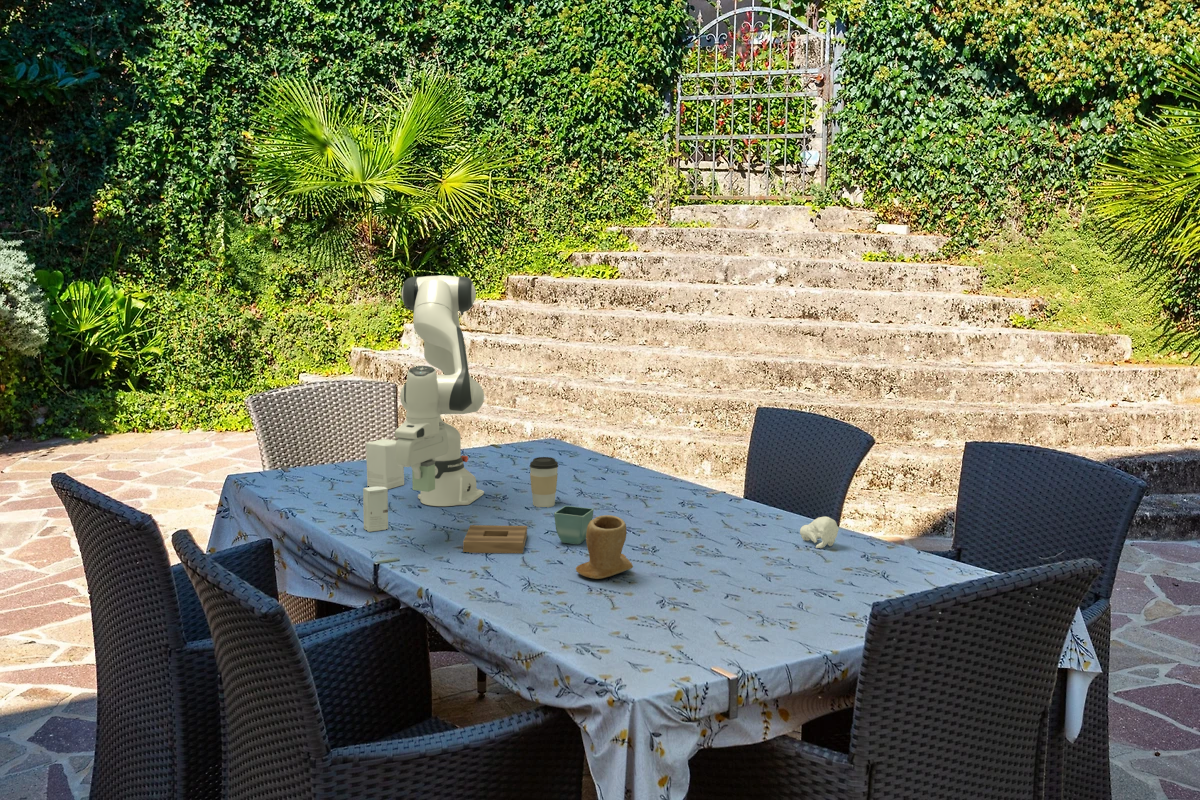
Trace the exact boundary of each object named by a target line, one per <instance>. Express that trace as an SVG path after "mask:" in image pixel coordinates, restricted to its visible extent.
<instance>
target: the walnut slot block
mask: <svg viewBox="0 0 1200 800" xmlns="http://www.w3.org/2000/svg"><path fill="white" fill-rule="evenodd" d="M527 537H528V526H527V525H493V524H492V525H489V524H488V525H487V524H486V525H485V524H484V525H479V524H477V525H476V524H475V525H473V524H470V525H469V527H468V529H467V532H466V534H465V537H464V538H463V540H462V541H463V542H462V553H463V552H469V553H468V554H471V553H472V554H475V553H476V554H523V553H524V550H525V546H526V541H527V539H528V538H527Z"/></svg>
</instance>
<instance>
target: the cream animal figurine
mask: <svg viewBox="0 0 1200 800" xmlns="http://www.w3.org/2000/svg"><path fill="white" fill-rule="evenodd" d="M839 530H840V529H839V526H838V524H837V521H836V520H835V519H833V518H831V517H829V516H821V517H820V516H819V517H817V518H815V519H813V520H812V522H811V521H810V523H809V524H803V525H802V526H801V527H800V529H799V534H800V537H801V538H802V540H803V541H807V542H808V541H810V540H811V542H813V543H814V544H815V543H817V542H818V539H821V542H819V543H817V544H816V546H815V548H816V549H817V548H820V549H824V548H825V547H826V546H828V547H832V546H833V545H834V543H835V541H836V539H837V537H838V533H839Z"/></svg>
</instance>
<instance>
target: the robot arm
mask: <svg viewBox="0 0 1200 800" xmlns="http://www.w3.org/2000/svg"><path fill="white" fill-rule="evenodd" d="M476 294H477V292H476V287H475V285H474V282H473V280H472V278H469V277H467V276H462V275H460V276H456V275H455V276H454V275H453V276H452V275H446V274H445V275H442V274H441V275H426V276H410V277H407V279H406V280H404V282H403V286H402V287H401V300H402V302H403V305H404V307H405V308H406V309H407V310H408V311H412V312H413V318H412V319H413V321H412V323H413V329H414V331H415V332H416V334H417V336H418V337H419V338H420V339H422V340H423V350H424V351H423V352H424V353H423V354H424V355H423V356H424V359H425V361H426V362H427V363H428V364H429V365H430V366H429V365H417V366H413V367H411V368H410V369H408V371H407V376H406V382H405V383H404V384H403V385H402V388H401V391H400V395H399V396H400V397H399V399H400V403H401V406H402V407H403V409H404V410H405V411H406V413H405V420H404V422H402V424H401V425H399V427H397V428H396V429H395V431H394V437H395V438H397V439H396V440H395V441H396V462H397V464H398V466H402V467H404V468H411V470H412V469H413V471H414V478H415V479H420V478H422V477H423V472H421V471H420V468H419V467H420V466H421V463H422V462H424V461H427V460H434V461H435V489H434V490H432V491H429V492H425V491H420V493H418V495H417V499H419V501H420V503H422V504H423V505H426V506H431V507H453V506H468V505H471V504H472V503H473V502H474V501H476V500H478V499H479V498H481V496H483V495H484V494H485V491H484V490H482V489H480V488H477V479H476V476H475V475H474V474H472V473H471V472H470V471H469V470H468V469H467V468H465V464H464V462H465V463H467V462H468V461H469V457H468V455H461V451H462V449H461V448H462V447H461V444H462V443H461V439H462V438H461V434H460V432H459V430H458V429H457V428H456V427H454V426H453V425H451V424H448V423H446V422H445V421H444V420H443V419H442V416H441V415H466V414H470V413H471V414H472V413H477V412H478V411H479V410H480V409H481V407H482V406H483V405H484V401H485V392H484V389H483V387H482V386H481V384H480V383H479V382H478V381H477V380H476V379H474V378H473V377H472V376H471V375H470V371H469V364H468V363H469V362H468V357H467V349H466V344H465V339H464V334H463V333H464V332H463V330H462V328H461V326H460V316H462V315H464V313H465V312H468V311H469V310H470V309H472V308H473V306H474V303H475V301H476V297H477V295H476ZM459 312H460V316H459ZM436 369H438V370H440V371H441V372H442V373H443V374H437V371H436Z"/></svg>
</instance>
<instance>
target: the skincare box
mask: <svg viewBox="0 0 1200 800" xmlns="http://www.w3.org/2000/svg"><path fill="white" fill-rule="evenodd" d="M362 490H363V491H362V493H363V495H362V499H363V500H362V502H363V503H362V505H363V508H362V509H363V510H362V511H363V529H364V530H365V531H366V530H367V532H368V533H369V532H378V531H385V530H386V529H387V530H389V507H388V506H389V503H388V502H389V496H388V495H389V493H388V491H389V489H387V488H385V487H383V486H377V487H368V486H367V487H363V488H362ZM387 530H386V531H387Z"/></svg>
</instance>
